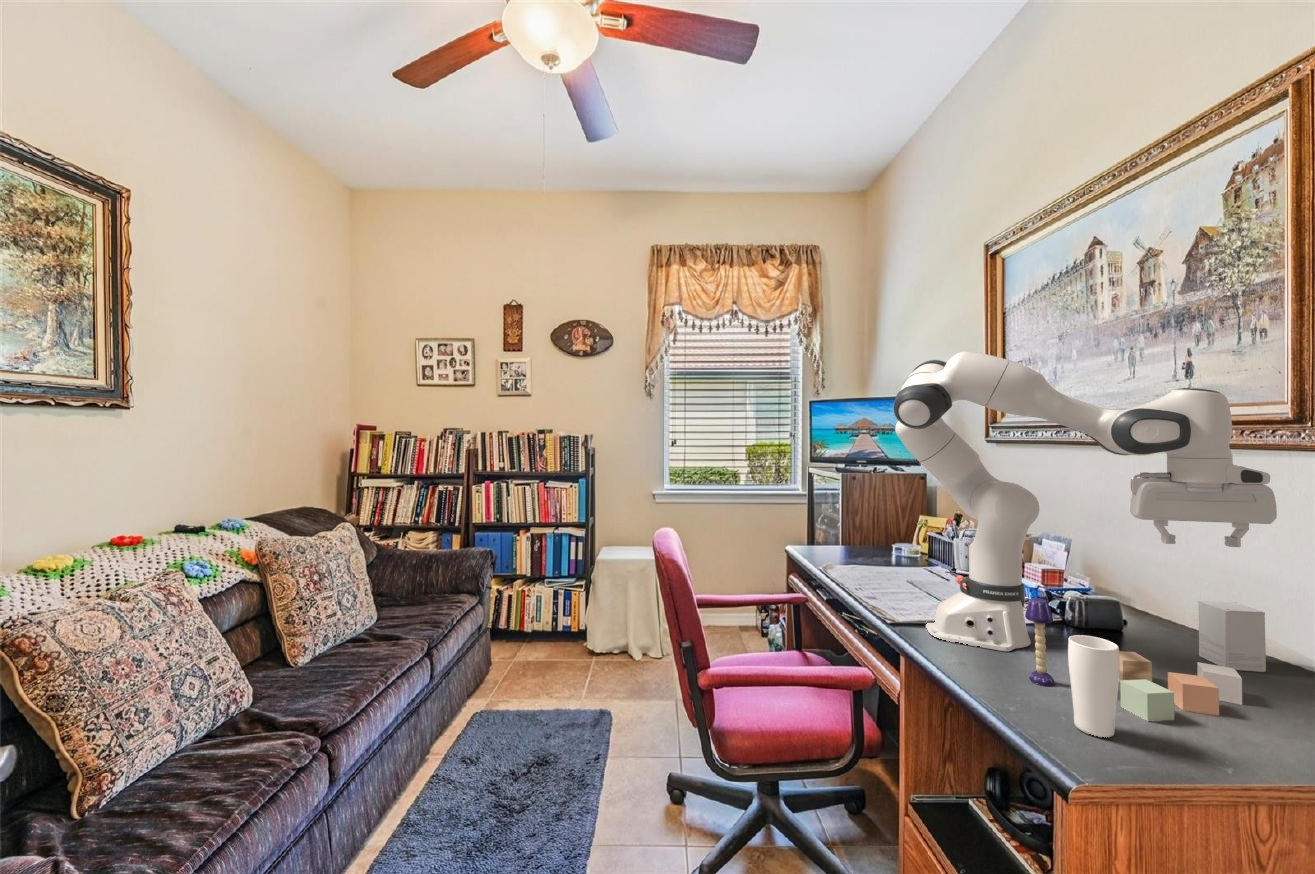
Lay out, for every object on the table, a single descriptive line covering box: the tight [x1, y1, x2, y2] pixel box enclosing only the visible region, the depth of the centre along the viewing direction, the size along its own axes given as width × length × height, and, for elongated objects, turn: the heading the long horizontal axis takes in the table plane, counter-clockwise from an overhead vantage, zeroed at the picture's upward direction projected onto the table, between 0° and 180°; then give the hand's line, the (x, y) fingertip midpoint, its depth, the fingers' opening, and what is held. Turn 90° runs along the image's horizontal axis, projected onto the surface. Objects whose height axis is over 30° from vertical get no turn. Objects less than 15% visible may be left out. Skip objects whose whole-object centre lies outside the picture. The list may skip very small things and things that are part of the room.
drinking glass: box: [1067, 634, 1120, 739], centre depth 90 cm, size 7×7×15 cm
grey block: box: [1196, 662, 1243, 706], centre depth 101 cm, size 5×5×5 cm
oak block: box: [1119, 650, 1153, 683], centre depth 108 cm, size 5×5×5 cm
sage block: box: [1119, 679, 1175, 722], centre depth 95 cm, size 5×5×5 cm
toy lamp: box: [1024, 597, 1056, 687], centre depth 107 cm, size 5×5×17 cm
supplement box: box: [1197, 600, 1267, 673], centre depth 115 cm, size 7×7×13 cm
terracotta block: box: [1167, 671, 1220, 717], centre depth 97 cm, size 5×5×5 cm
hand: (1200, 545), depth 101 cm, fingers open, 8 cm apart
